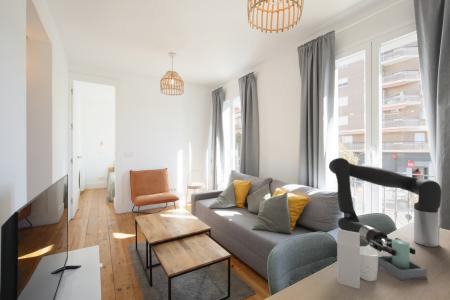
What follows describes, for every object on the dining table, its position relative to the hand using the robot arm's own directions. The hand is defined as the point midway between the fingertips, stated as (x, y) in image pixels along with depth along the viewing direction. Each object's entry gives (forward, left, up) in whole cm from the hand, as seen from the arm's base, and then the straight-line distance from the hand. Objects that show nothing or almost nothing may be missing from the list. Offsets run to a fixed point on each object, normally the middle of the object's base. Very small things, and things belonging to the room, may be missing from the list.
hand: (405, 252), depth 86 cm
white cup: (+16, -1, -9) cm, 18 cm away
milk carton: (+25, +1, -9) cm, 26 cm away
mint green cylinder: (0, -2, -8) cm, 8 cm away
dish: (0, -2, -8) cm, 9 cm away
